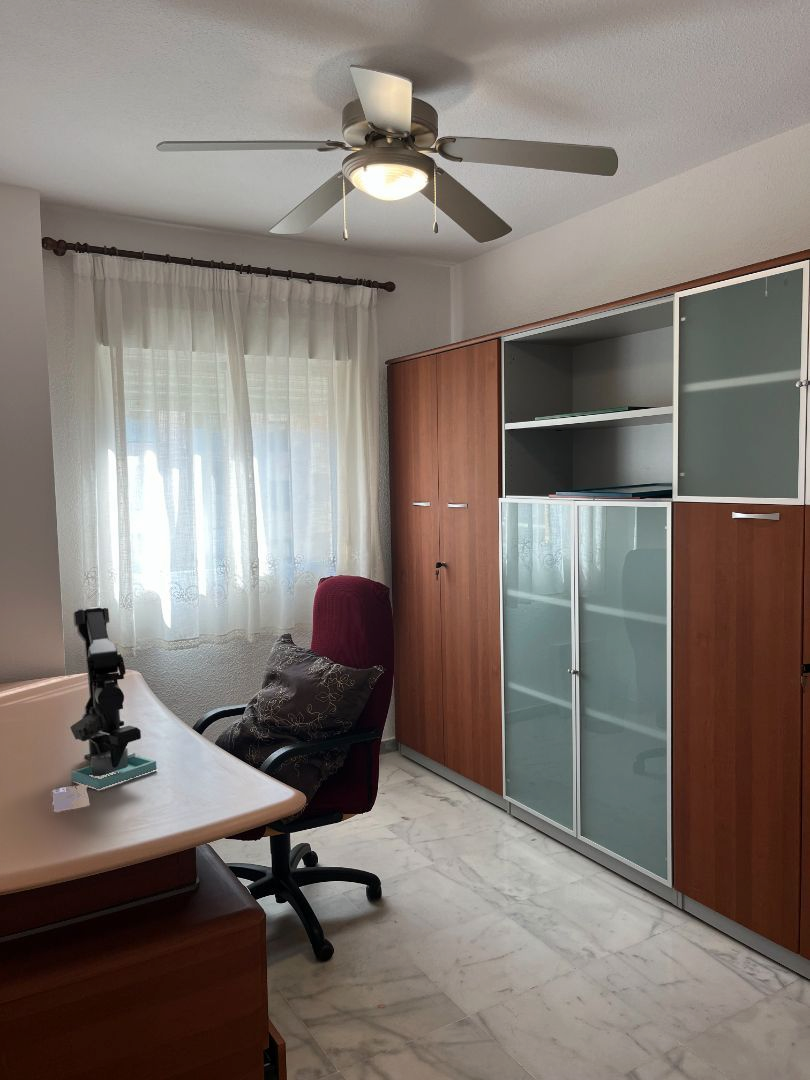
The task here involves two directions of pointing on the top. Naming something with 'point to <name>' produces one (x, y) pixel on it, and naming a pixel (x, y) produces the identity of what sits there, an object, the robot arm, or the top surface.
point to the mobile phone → (64, 798)
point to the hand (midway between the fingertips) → (110, 765)
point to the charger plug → (108, 763)
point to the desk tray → (134, 769)
